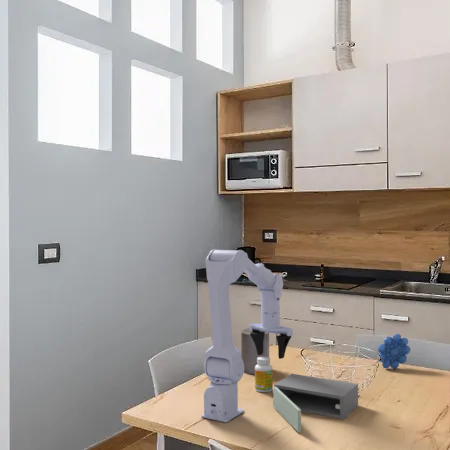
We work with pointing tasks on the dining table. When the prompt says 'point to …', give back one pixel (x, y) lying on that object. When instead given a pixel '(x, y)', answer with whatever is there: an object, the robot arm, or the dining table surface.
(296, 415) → the door
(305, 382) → the cabinet
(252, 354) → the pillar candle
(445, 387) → the dining table surface
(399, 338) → the blue flower shape
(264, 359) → the supplement bottle
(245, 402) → the dining table surface
